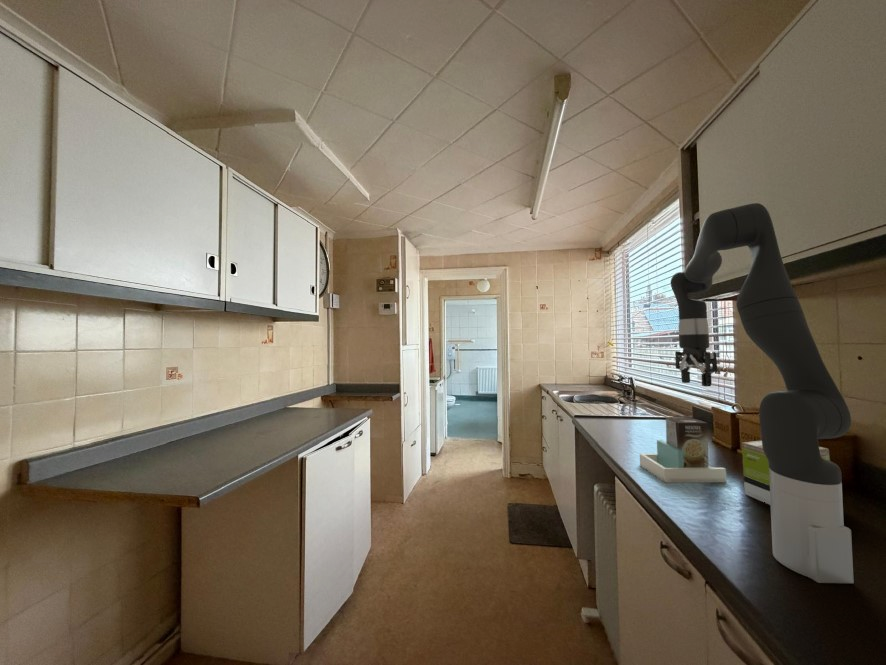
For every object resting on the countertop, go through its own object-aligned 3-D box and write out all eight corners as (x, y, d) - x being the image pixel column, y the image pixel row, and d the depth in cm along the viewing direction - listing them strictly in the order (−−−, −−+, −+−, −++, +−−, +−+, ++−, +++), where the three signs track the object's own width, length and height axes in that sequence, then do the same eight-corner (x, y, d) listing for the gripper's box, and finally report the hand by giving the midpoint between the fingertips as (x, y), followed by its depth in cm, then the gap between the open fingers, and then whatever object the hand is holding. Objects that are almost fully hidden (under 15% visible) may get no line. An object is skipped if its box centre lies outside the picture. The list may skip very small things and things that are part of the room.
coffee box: (679, 474, 99) (677, 422, 100) (666, 466, 106) (664, 417, 106) (710, 474, 99) (708, 422, 99) (695, 466, 105) (693, 417, 105)
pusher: (684, 476, 97) (683, 450, 97) (679, 476, 97) (678, 450, 97) (662, 463, 108) (661, 440, 108) (657, 463, 108) (656, 440, 108)
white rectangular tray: (726, 482, 95) (725, 468, 95) (664, 482, 96) (664, 469, 96) (694, 465, 108) (693, 453, 108) (640, 465, 109) (639, 453, 109)
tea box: (786, 489, 91) (784, 437, 91) (835, 507, 81) (832, 448, 81) (742, 494, 88) (740, 440, 89) (786, 513, 78) (784, 453, 79)
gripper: (724, 332, 94) (727, 387, 93) (688, 333, 108) (691, 381, 108) (698, 332, 94) (701, 387, 94) (666, 334, 108) (668, 381, 108)
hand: (695, 384), depth 101 cm, fingers open, 8 cm apart
